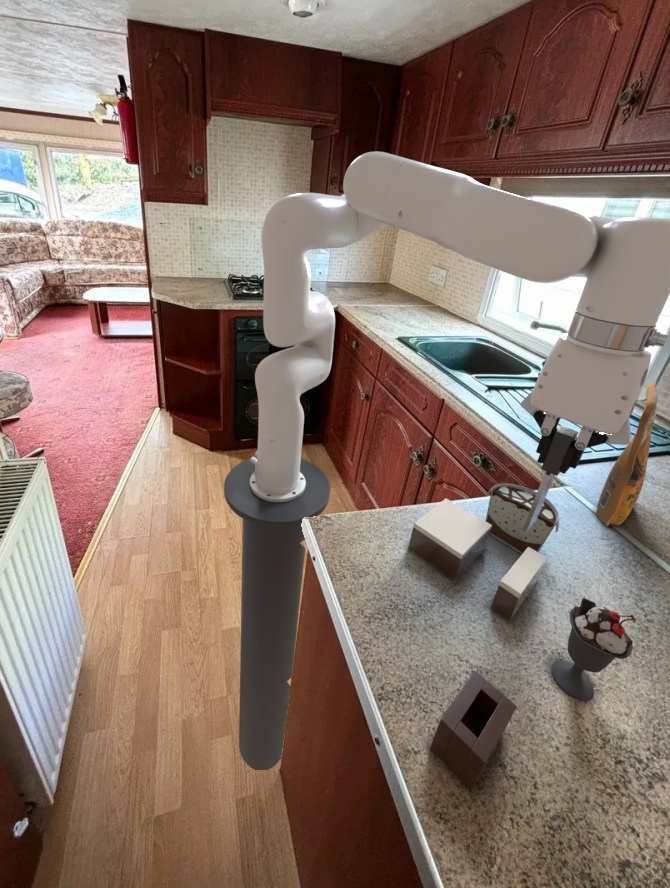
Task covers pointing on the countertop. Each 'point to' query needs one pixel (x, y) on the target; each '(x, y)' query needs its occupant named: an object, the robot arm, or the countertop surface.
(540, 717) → the countertop surface
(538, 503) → the knife
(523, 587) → the cake slice
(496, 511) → the ice cream dessert
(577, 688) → the sundae
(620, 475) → the pancake mix bag
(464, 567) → the cake
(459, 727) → the knife block
